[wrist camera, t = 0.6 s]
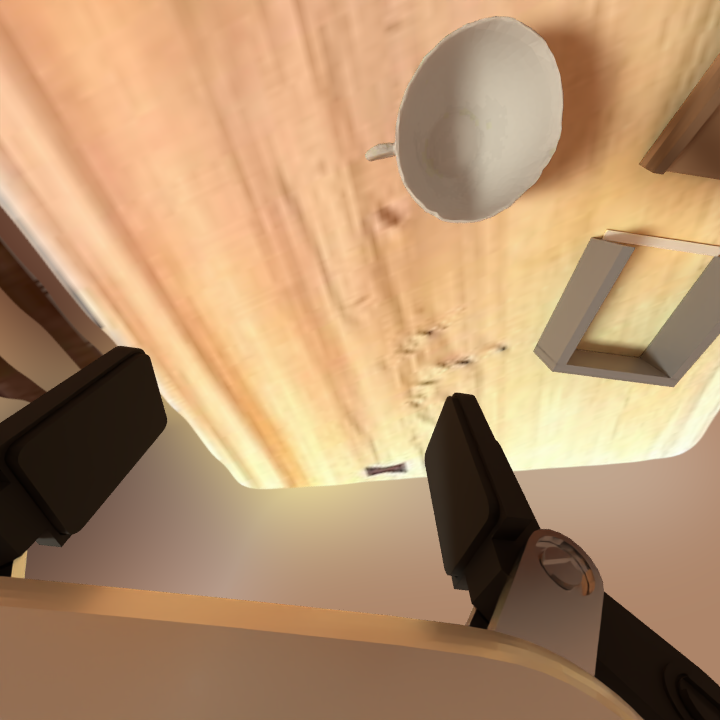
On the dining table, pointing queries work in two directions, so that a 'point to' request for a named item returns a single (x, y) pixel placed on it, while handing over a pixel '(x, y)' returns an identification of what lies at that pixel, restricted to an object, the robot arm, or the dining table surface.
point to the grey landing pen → (669, 347)
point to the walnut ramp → (692, 133)
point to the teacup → (478, 120)
